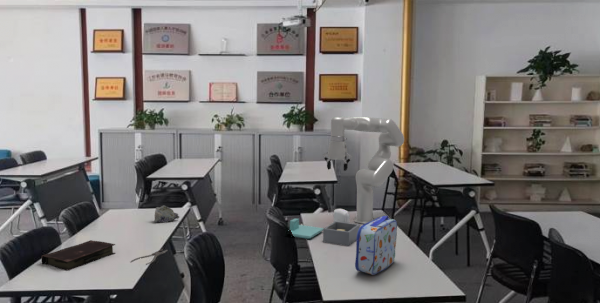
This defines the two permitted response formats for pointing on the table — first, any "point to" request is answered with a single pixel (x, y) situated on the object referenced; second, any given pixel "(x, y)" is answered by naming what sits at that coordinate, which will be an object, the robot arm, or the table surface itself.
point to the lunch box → (376, 245)
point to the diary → (78, 255)
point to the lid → (303, 230)
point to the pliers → (152, 255)
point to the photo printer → (341, 216)
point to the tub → (340, 233)
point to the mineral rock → (164, 214)
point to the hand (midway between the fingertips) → (337, 169)
